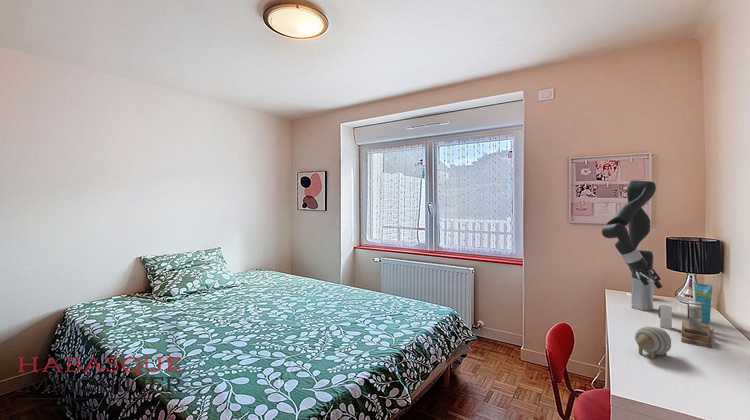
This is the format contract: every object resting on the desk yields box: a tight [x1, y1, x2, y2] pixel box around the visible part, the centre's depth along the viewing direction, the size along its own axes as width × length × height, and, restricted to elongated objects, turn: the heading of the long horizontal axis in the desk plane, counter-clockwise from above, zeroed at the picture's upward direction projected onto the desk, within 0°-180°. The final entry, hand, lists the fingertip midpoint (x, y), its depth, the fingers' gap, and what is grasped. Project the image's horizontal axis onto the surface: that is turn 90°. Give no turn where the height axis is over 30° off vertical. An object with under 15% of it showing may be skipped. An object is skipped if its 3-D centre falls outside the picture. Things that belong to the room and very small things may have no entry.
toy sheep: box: [634, 326, 672, 360], centre depth 126 cm, size 11×17×11 cm, turn 114°
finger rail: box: [680, 300, 712, 349], centre depth 144 cm, size 9×28×12 cm, turn 135°
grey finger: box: [658, 303, 673, 330], centre depth 153 cm, size 4×3×11 cm, turn 45°
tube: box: [693, 282, 713, 324], centre depth 159 cm, size 7×5×19 cm, turn 23°
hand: (653, 286), depth 157 cm, fingers open, 8 cm apart
